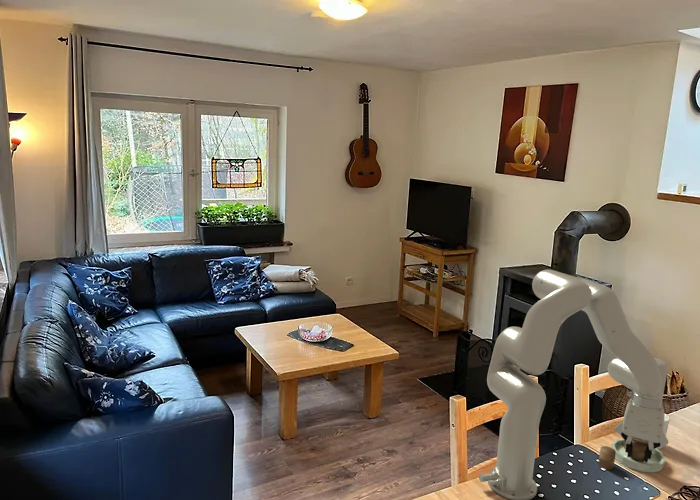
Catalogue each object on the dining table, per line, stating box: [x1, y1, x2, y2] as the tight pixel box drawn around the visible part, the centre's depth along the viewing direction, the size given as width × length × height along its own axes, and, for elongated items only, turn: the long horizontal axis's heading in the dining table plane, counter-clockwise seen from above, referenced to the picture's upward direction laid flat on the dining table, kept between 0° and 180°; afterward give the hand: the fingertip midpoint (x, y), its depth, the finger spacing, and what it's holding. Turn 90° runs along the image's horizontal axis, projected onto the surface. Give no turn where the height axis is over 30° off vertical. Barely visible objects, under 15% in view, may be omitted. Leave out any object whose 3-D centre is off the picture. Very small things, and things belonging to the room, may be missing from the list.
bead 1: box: [597, 445, 616, 470], centre depth 154 cm, size 4×4×5 cm
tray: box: [610, 437, 666, 474], centre depth 158 cm, size 14×14×6 cm
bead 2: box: [630, 439, 648, 462], centre depth 155 cm, size 4×4×5 cm
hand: (637, 456), depth 156 cm, fingers closed on bead 2, 3 cm apart
